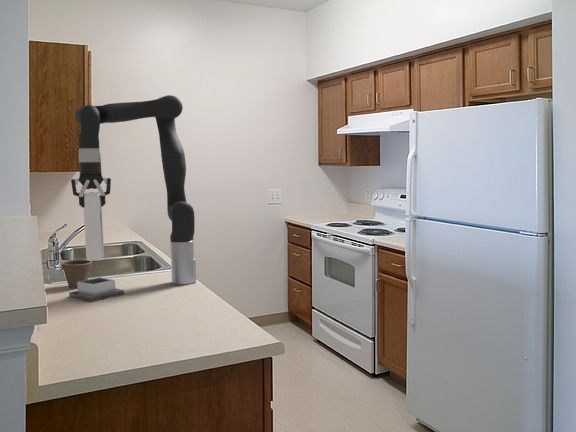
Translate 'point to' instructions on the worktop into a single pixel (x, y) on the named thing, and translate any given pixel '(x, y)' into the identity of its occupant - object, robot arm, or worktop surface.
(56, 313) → the worktop surface
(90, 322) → the worktop surface
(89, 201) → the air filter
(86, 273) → the flower pot
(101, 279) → the duct collar
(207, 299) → the worktop surface
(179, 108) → the robot arm
